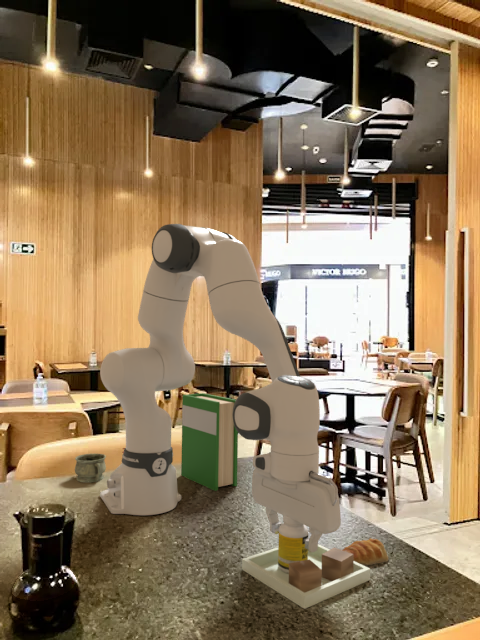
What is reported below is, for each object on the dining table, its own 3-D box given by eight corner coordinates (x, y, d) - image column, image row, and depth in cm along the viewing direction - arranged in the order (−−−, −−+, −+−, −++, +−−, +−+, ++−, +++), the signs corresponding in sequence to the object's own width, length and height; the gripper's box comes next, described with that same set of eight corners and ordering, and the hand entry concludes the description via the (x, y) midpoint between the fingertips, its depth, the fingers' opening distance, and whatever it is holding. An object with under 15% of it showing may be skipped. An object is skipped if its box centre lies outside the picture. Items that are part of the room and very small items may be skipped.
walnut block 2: (321, 577, 91) (321, 554, 91) (333, 569, 94) (334, 547, 94) (341, 585, 88) (341, 561, 88) (353, 576, 91) (353, 554, 91)
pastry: (351, 574, 94) (351, 553, 94) (329, 560, 100) (329, 540, 100) (391, 565, 98) (391, 544, 98) (368, 551, 104) (368, 532, 104)
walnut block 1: (288, 586, 87) (288, 563, 87) (309, 582, 89) (309, 559, 89) (300, 598, 84) (300, 573, 84) (321, 594, 85) (321, 569, 85)
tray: (242, 572, 93) (242, 558, 94) (305, 550, 103) (305, 538, 103) (304, 612, 81) (304, 596, 81) (370, 583, 90) (370, 568, 90)
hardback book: (237, 486, 144) (238, 400, 145) (215, 491, 140) (216, 402, 140) (202, 471, 158) (203, 393, 159) (181, 475, 154) (182, 394, 154)
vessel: (114, 480, 148) (114, 458, 148) (84, 486, 142) (85, 463, 142) (95, 471, 157) (95, 450, 157) (66, 476, 151) (67, 455, 151)
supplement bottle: (306, 576, 91) (307, 520, 91) (276, 573, 92) (276, 517, 92) (308, 563, 96) (309, 510, 97) (280, 559, 98) (280, 507, 98)
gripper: (349, 476, 88) (348, 557, 88) (271, 451, 105) (270, 520, 104) (323, 483, 84) (322, 567, 84) (247, 455, 101) (245, 526, 101)
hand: (292, 541), depth 95 cm, fingers open, 8 cm apart
